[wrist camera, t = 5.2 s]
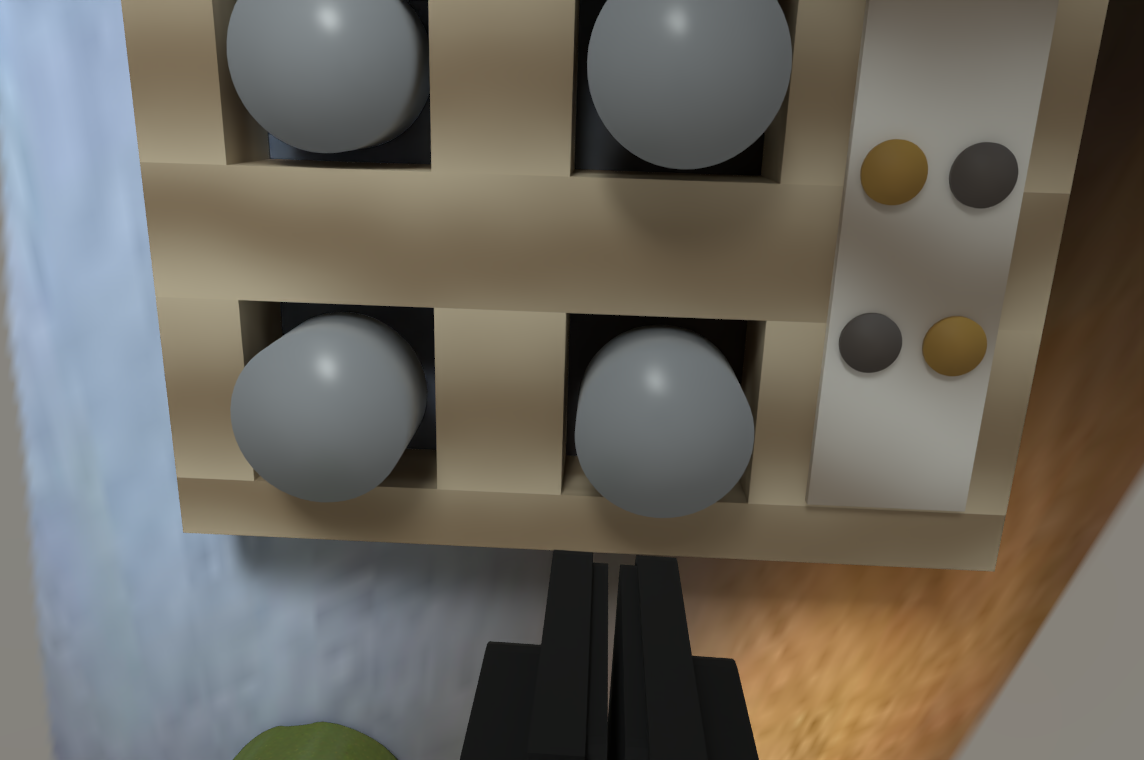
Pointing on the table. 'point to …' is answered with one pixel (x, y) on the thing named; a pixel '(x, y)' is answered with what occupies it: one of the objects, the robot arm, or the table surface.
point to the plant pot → (313, 744)
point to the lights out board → (643, 275)
